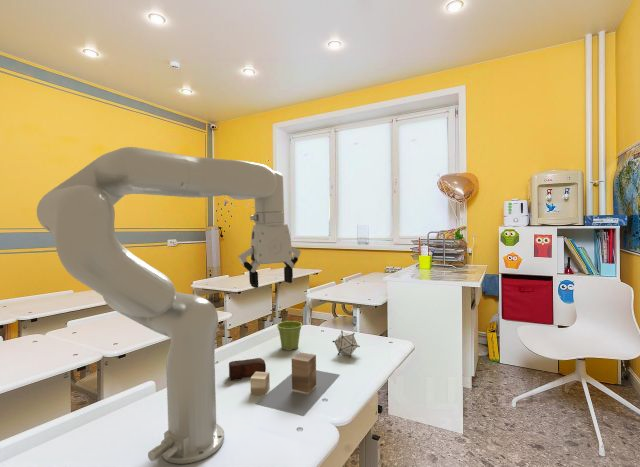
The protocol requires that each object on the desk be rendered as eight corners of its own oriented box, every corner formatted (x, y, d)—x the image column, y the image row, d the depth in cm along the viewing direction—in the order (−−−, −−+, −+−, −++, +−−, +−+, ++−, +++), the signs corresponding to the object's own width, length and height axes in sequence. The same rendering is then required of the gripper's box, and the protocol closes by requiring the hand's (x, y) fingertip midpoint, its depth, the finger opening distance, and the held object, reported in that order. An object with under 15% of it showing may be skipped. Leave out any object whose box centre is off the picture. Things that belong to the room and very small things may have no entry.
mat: (303, 417, 82) (303, 415, 82) (255, 405, 88) (255, 403, 88) (340, 375, 104) (340, 374, 104) (299, 368, 110) (299, 367, 110)
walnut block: (308, 394, 92) (307, 361, 92) (292, 391, 94) (291, 358, 94) (316, 386, 97) (315, 354, 96) (300, 383, 99) (300, 352, 99)
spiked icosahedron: (351, 364, 121) (368, 342, 121) (340, 364, 114) (358, 340, 114) (335, 346, 126) (351, 325, 126) (323, 345, 120) (340, 322, 119)
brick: (230, 382, 101) (230, 366, 101) (229, 376, 105) (228, 361, 105) (266, 376, 105) (265, 361, 105) (263, 370, 109) (263, 356, 109)
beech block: (265, 397, 92) (264, 378, 92) (250, 396, 93) (250, 377, 93) (269, 390, 96) (269, 372, 96) (256, 389, 97) (255, 371, 97)
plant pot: (281, 342, 134) (281, 320, 134) (305, 343, 132) (304, 321, 132) (273, 351, 125) (273, 327, 125) (298, 352, 123) (298, 328, 123)
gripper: (243, 220, 82) (245, 291, 83) (305, 218, 91) (307, 282, 92) (232, 220, 88) (235, 286, 89) (292, 218, 98) (293, 278, 98)
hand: (271, 284), depth 91 cm, fingers open, 9 cm apart
